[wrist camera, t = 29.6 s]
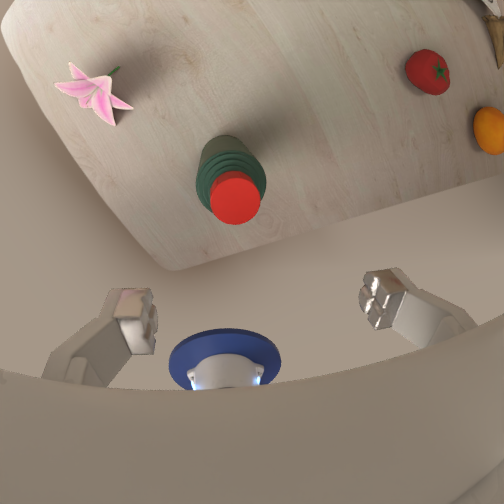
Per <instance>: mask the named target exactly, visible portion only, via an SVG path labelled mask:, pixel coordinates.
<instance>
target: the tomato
mask: <svg viewBox="0 0 504 504" xmlns="http://www.w3.org/2000/svg"><path fill="white" fill-rule="evenodd" d="M405 70H406V73H407V77H408V79H409V80H410V81H411V82H412V83H413V84H414V85H415V86H416V87H418V88H419V89H421V90H422V91H424V92H425V93H428V94H431V95H440V94H442V93H444V92H445V91H446V90H447V89H448V88H449V86H450V78H449V70H448V67H447V64H446V62H445V60H444V59H443V57H441V56H440V55H439V54H437V53H436V52H434V51H431V50H427V49H422V50H420V51H417V52H415V53H414V54H413V55H412V57H411V58H410V59H409V60H408V61H407V63H406V67H405Z"/></svg>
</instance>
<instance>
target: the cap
mask: <svg viewBox="0 0 504 504" xmlns="http://www.w3.org/2000/svg"><path fill="white" fill-rule="evenodd" d="M210 196H211V208H212V211H213V213H214V215H215V216H216V217H217V218H218V219H219V220H221V221H222V222H224V223H227V224H232V225H237V224H242V223H245V222H247V221H249V220H250V219H252V218H253V217H254V216H255V214H256V213H257V211H258V209H259V207H260V193H259V191H258V189H257V187H256V186H255V184H254V182H253V181H252V179H251V177H249V176H248V175H246V174H245V173H242V172H240V171H229V172H228V171H227V172H225V173H223V174H221V175H220V176H219V177H217V178H216V180H215V181H214V182H213V184H212V187H211V188H210Z"/></svg>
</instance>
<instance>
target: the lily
mask: <svg viewBox="0 0 504 504" xmlns="http://www.w3.org/2000/svg"><path fill="white" fill-rule="evenodd" d="M69 68H70V71H71V74H72V76H73V78H74V79H75V80H76V81H69V82H55V83H53V84H54V86H56V87H57V88H58V89H59V90H61V91H62V92H64V93H66V94H67V95H70V96H72V97H77V98H78V101H79V105H80V106H81V107H82V108H92V107H93V110H94V111H95V113H96V114H97V115H98V116H99V117H100V118H102V119H103V120H104V121H106V122H107V123H109V124H111V125H112V126H116V124H115V121H114V118H113V112H112V107H114V108H118V109H128V110H130V109H134V108H133V107H131V106H130V105H128V104H126V103H125V102H123V101H121V100H120V99H118V98H117V97H115V96H114V95H112V94H111V85H112V80H111V77H110V75H111V74H112V73H113V72H115V71H116V70H117V69H118V68H120V66H118V67H117V68H115V69H114V70H113V71H112V72H111V73H110V74H108V75H107V76H100V77H96V78H92V79H90V78H89V77H88V76H86V75H85V74H84V73H83V72H82V71H80V70H79V69H78V68H77V67H76V66H75V65H74V64H73V63H72V62H70V61H69ZM111 106H112V107H111Z"/></svg>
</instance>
